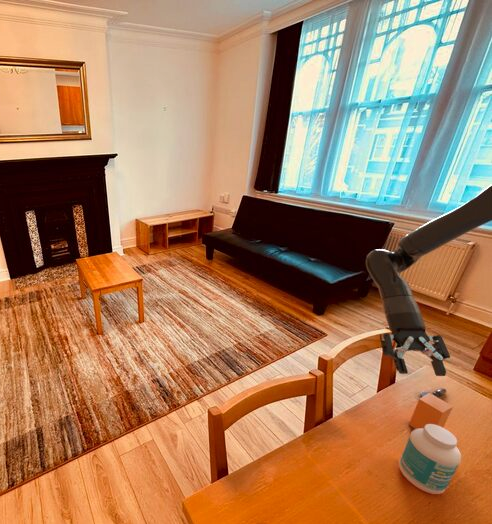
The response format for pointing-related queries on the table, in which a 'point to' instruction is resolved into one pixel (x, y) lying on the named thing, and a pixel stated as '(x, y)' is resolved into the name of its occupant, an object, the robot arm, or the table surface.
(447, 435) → the pill bottle
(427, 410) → the orange rectangular block
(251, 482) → the table surface
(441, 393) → the grey oval keychain
